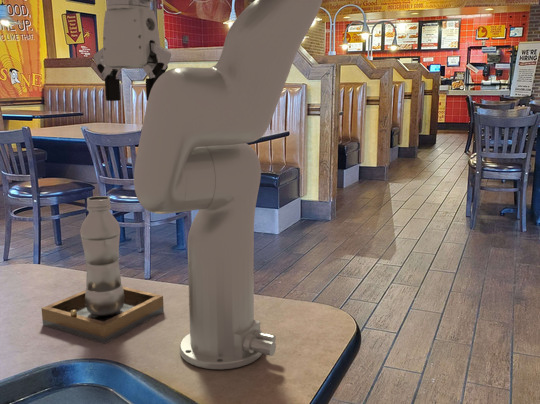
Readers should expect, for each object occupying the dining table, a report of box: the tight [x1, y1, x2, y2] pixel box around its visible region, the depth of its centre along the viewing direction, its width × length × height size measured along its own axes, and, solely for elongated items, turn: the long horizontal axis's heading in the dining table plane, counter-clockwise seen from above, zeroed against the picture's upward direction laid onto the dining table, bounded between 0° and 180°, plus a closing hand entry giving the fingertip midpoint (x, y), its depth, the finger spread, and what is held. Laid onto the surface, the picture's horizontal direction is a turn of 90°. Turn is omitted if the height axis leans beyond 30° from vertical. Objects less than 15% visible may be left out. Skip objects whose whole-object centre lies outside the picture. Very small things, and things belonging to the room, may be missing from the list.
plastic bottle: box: [79, 195, 125, 316], centre depth 89 cm, size 6×7×20 cm
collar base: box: [41, 286, 164, 345], centre depth 91 cm, size 14×14×4 cm
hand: (133, 101), depth 98 cm, fingers open, 9 cm apart
